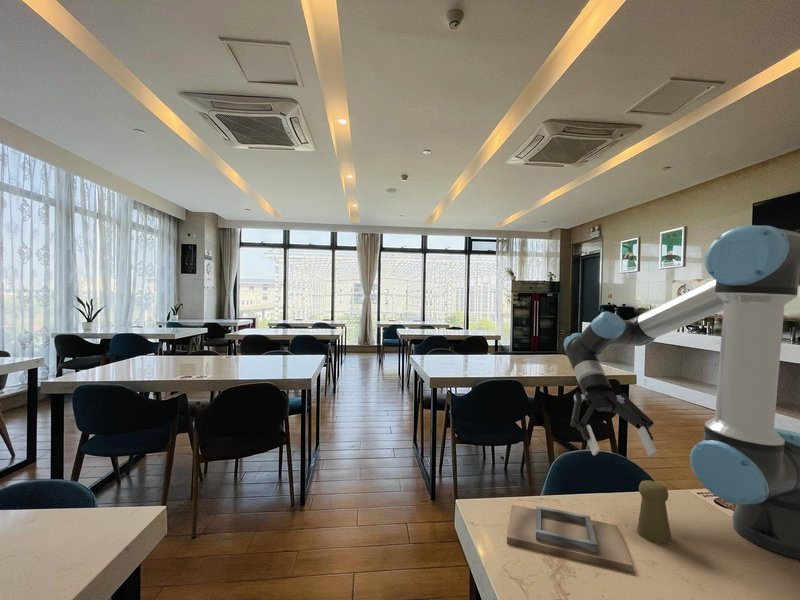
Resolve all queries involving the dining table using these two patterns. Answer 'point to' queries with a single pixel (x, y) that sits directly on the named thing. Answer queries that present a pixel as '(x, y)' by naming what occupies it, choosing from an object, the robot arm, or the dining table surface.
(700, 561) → the dining table surface
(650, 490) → the olive pawn shaped shaker
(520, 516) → the condiment stand
